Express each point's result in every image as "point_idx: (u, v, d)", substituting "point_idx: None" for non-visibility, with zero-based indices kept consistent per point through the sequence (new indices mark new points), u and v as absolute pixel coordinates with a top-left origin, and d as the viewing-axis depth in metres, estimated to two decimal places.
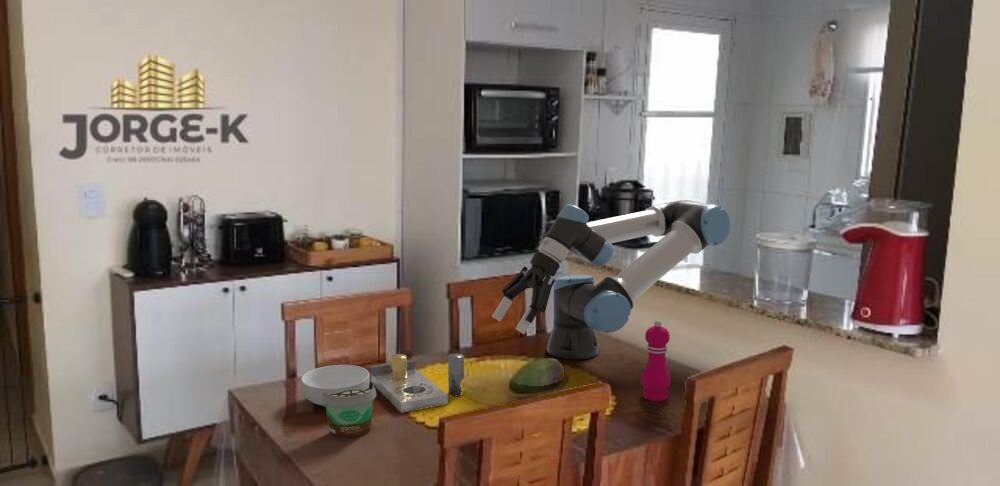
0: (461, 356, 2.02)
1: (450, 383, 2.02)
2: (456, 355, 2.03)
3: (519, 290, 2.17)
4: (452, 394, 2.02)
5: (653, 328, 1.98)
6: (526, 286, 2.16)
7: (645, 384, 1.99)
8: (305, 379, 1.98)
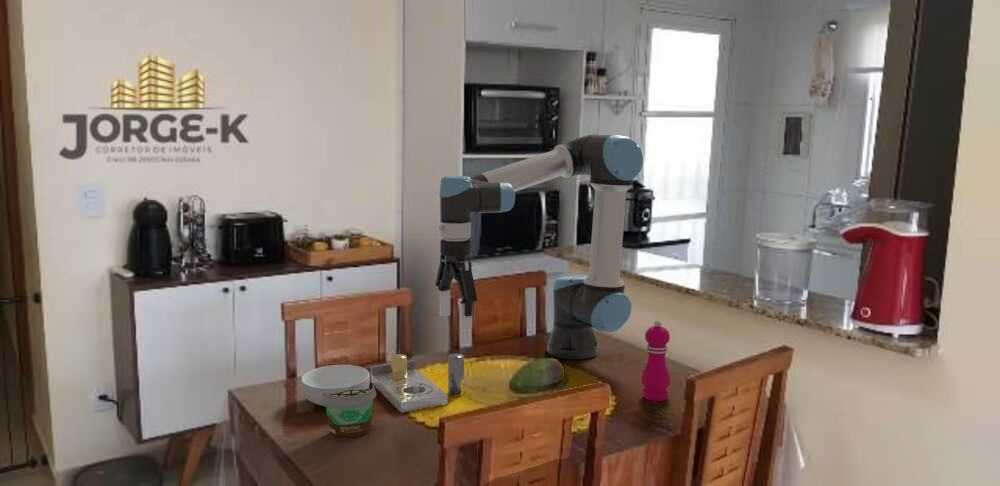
0: (461, 356, 2.02)
1: (450, 383, 2.02)
2: (456, 355, 2.03)
3: (449, 279, 2.04)
4: (452, 394, 2.02)
5: (653, 328, 1.98)
6: None
7: (645, 384, 1.99)
8: (305, 379, 1.98)
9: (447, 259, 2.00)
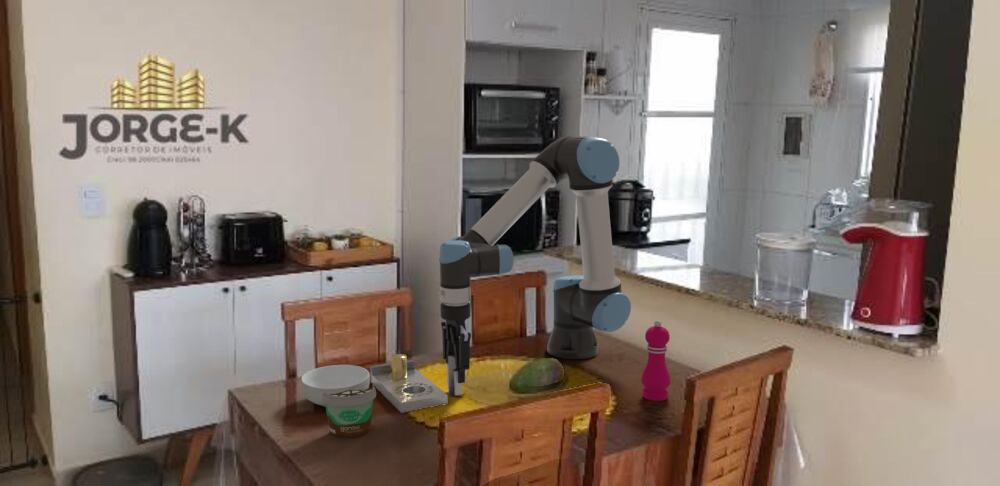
0: None
1: (450, 383, 2.02)
2: None
3: (454, 347, 2.04)
4: (452, 394, 2.02)
5: (653, 328, 1.98)
6: None
7: (645, 384, 1.99)
8: (305, 379, 1.98)
9: (447, 322, 2.03)
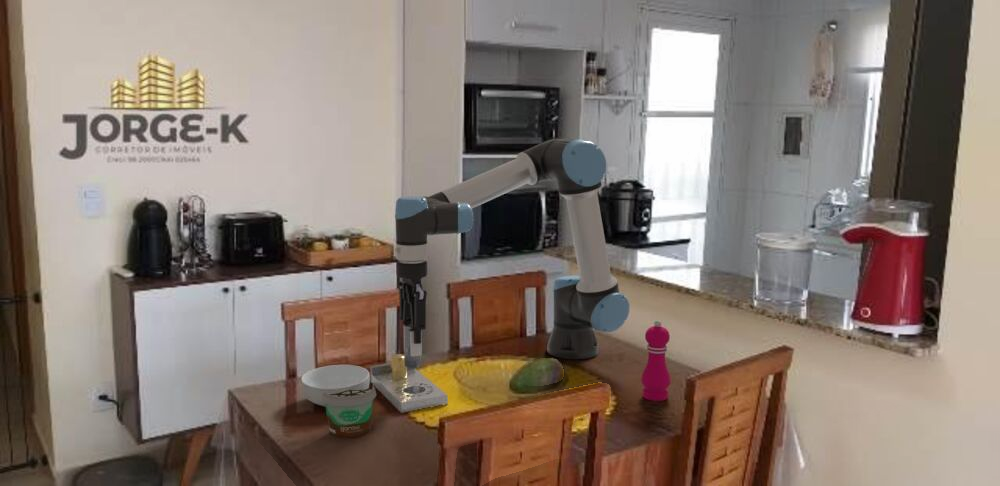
0: None
1: (406, 354, 1.97)
2: None
3: None
4: (408, 365, 1.97)
5: (653, 328, 1.98)
6: (413, 298, 1.97)
7: (645, 384, 1.99)
8: (305, 379, 1.98)
9: (404, 281, 1.97)
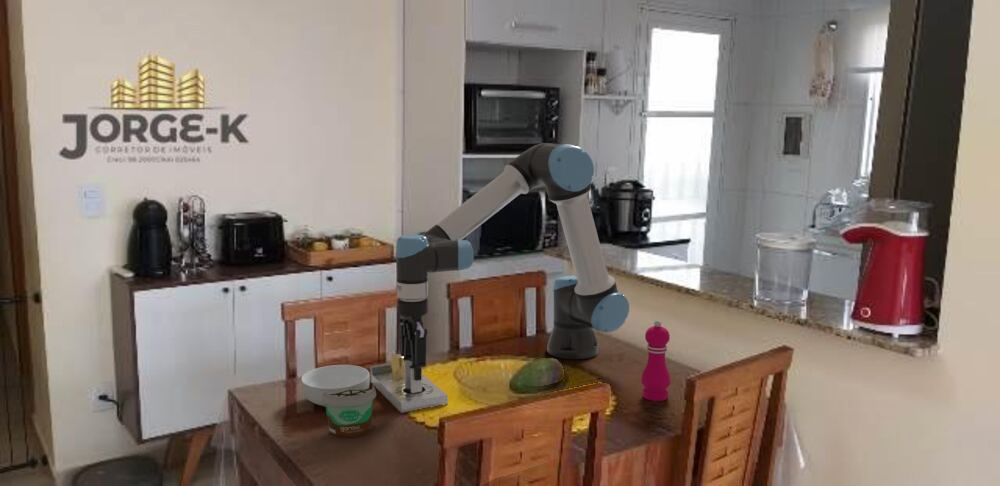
0: None
1: (407, 388, 1.98)
2: None
3: None
4: None
5: (653, 328, 1.98)
6: (413, 335, 1.99)
7: (645, 384, 1.99)
8: (305, 379, 1.98)
9: (404, 318, 1.98)
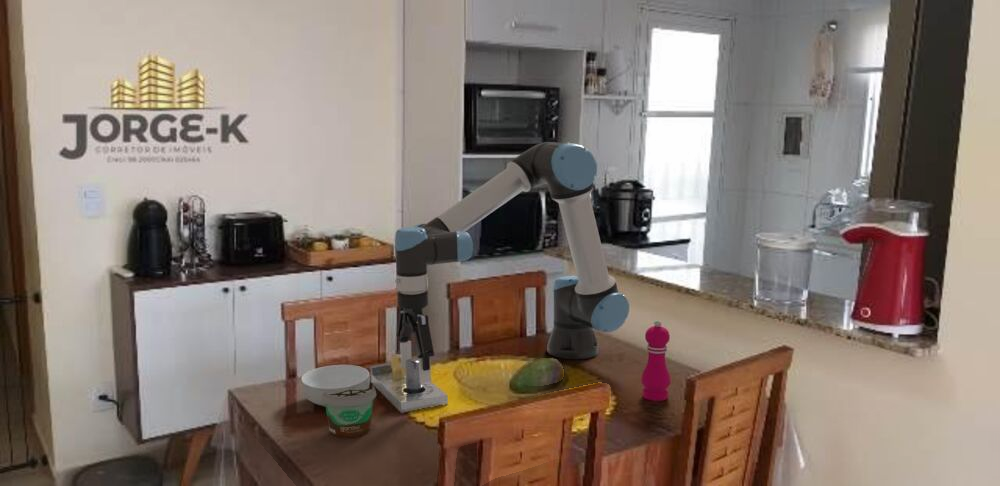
0: None
1: (408, 389, 1.98)
2: (413, 360, 1.99)
3: (409, 330, 2.02)
4: None
5: (653, 328, 1.98)
6: None
7: (645, 384, 1.99)
8: (305, 379, 1.98)
9: (405, 311, 1.98)
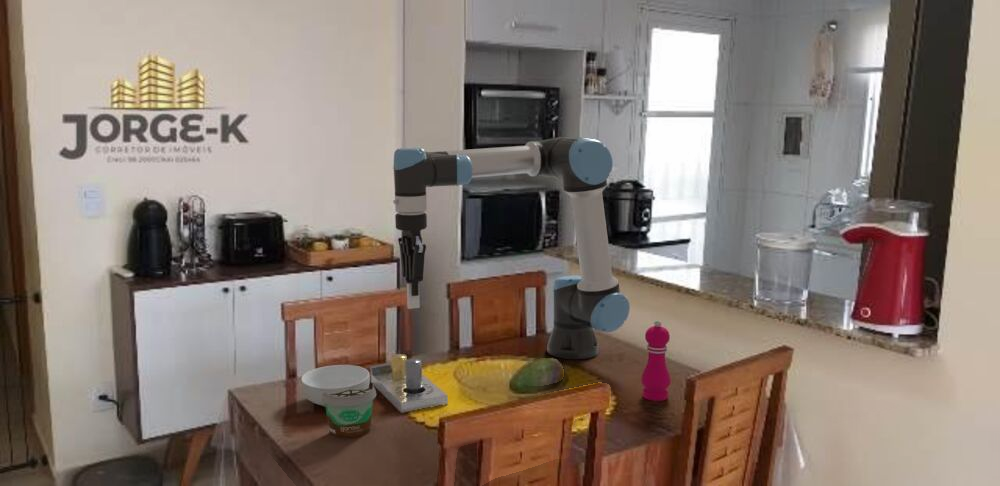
0: (418, 361, 1.98)
1: (408, 389, 1.98)
2: (413, 360, 1.99)
3: None
4: None
5: (653, 328, 1.98)
6: None
7: (645, 384, 1.99)
8: (305, 379, 1.98)
9: (403, 234, 1.95)
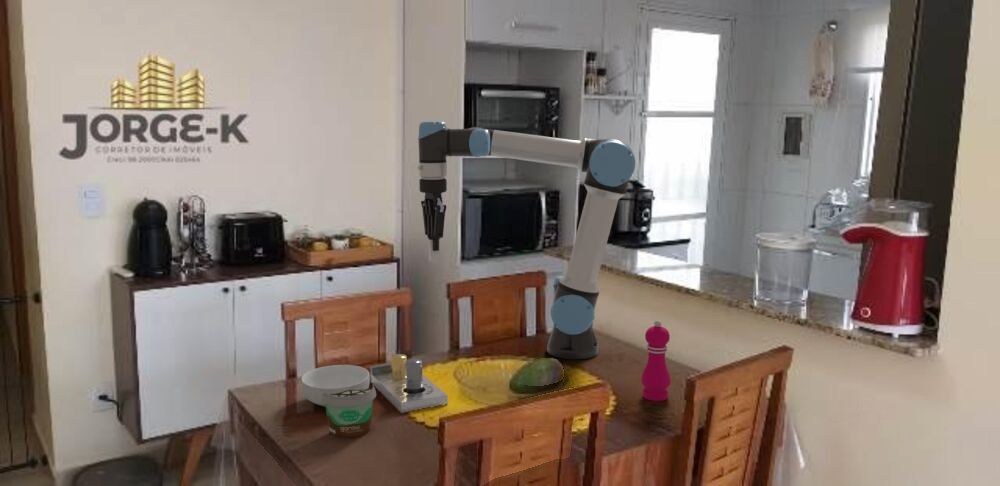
0: (419, 361, 1.98)
1: (408, 389, 1.98)
2: (414, 360, 1.99)
3: None
4: None
5: (653, 328, 1.98)
6: None
7: (645, 384, 1.99)
8: (305, 379, 1.98)
9: (426, 197, 2.23)
